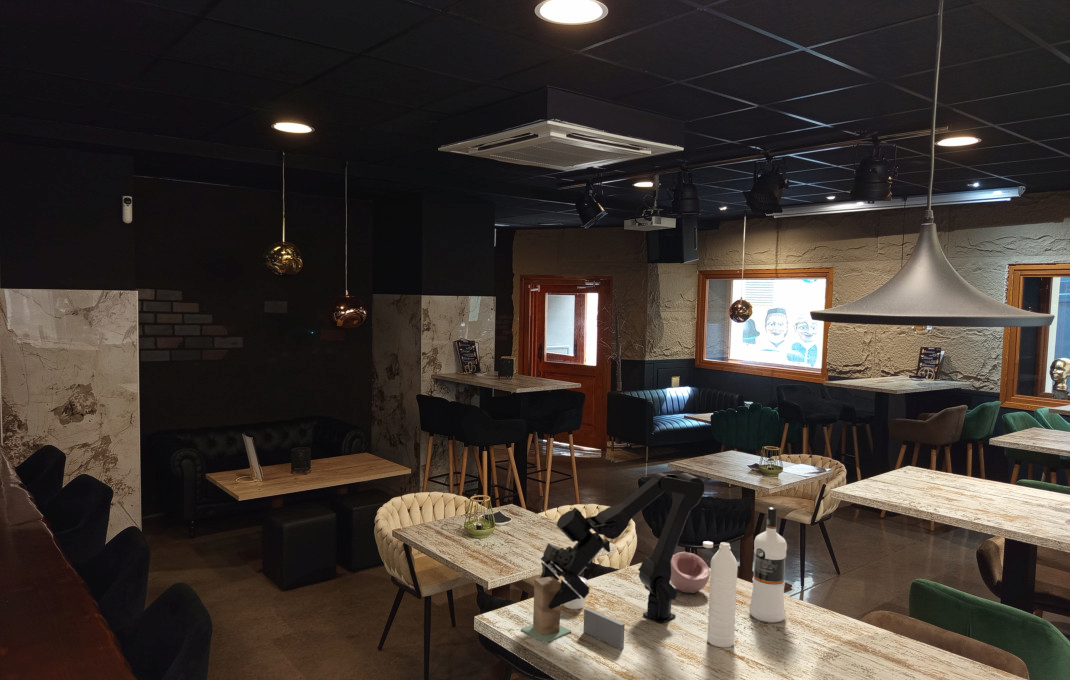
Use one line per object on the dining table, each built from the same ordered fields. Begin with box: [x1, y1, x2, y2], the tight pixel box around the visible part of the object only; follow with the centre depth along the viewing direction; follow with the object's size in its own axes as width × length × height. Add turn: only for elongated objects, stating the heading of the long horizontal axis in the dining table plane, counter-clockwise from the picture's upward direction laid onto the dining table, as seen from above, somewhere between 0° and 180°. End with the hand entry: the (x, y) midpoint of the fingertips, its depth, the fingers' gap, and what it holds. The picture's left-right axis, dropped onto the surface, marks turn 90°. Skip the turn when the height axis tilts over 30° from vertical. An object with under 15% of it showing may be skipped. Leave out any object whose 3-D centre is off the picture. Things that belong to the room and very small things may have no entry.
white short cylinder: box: [562, 575, 588, 610], centre depth 196 cm, size 7×7×7 cm
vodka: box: [748, 506, 788, 624], centre depth 192 cm, size 9×9×30 cm
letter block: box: [532, 576, 561, 636], centre depth 179 cm, size 5×5×12 cm
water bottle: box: [702, 540, 739, 648], centre depth 176 cm, size 9×6×25 cm
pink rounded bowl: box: [670, 551, 711, 594], centre depth 208 cm, size 12×12×11 cm
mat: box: [520, 623, 572, 643], centre depth 179 cm, size 9×9×1 cm
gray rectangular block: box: [583, 607, 626, 650], centre depth 176 cm, size 1×12×6 cm, turn 44°
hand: (542, 600), depth 179 cm, fingers open, 9 cm apart
